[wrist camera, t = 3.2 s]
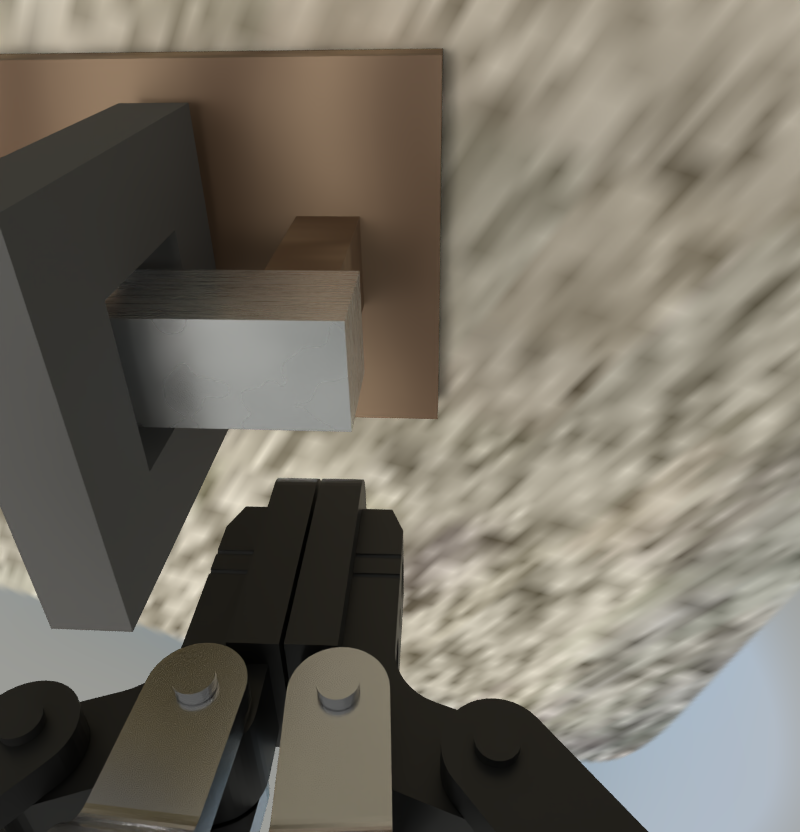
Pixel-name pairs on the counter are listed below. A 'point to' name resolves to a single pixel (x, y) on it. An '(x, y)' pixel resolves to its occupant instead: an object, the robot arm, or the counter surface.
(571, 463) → the counter surface
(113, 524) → the dark grey flat piece
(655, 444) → the counter surface
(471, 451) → the counter surface
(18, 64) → the board
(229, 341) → the grey square bar
